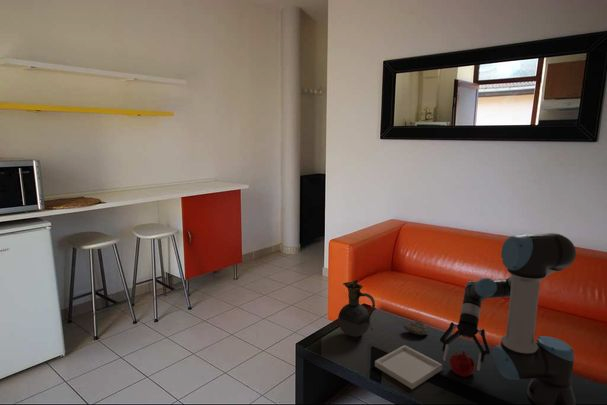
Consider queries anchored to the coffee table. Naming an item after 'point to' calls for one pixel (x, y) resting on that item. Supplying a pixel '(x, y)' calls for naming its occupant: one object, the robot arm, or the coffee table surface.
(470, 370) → the pomegranate
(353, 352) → the coffee table surface
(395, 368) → the tray
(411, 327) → the fossilized seashell
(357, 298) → the pitcher
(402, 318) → the coffee table surface
